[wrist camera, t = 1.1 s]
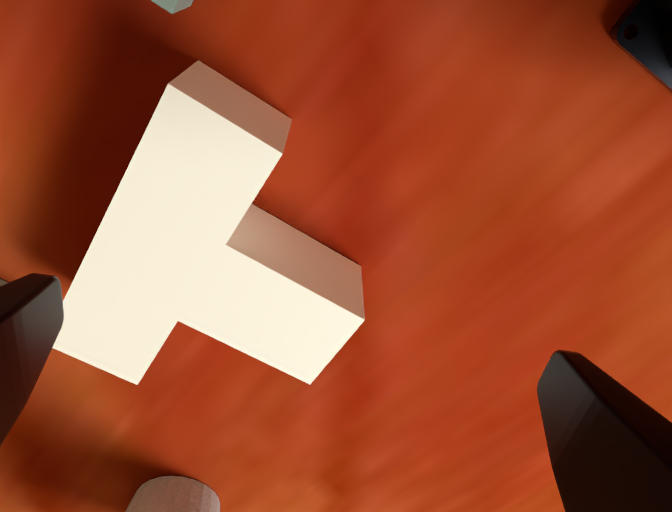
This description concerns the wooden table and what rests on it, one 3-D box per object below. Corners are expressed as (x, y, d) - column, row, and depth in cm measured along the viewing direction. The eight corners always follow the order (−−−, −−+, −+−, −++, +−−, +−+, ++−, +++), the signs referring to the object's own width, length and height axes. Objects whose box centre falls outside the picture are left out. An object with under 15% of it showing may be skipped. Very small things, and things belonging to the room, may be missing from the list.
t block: (415, 197, 22) (429, 243, 19) (272, 377, 27) (263, 439, 24) (198, 59, 19) (168, 83, 16) (84, 288, 24) (42, 343, 21)
